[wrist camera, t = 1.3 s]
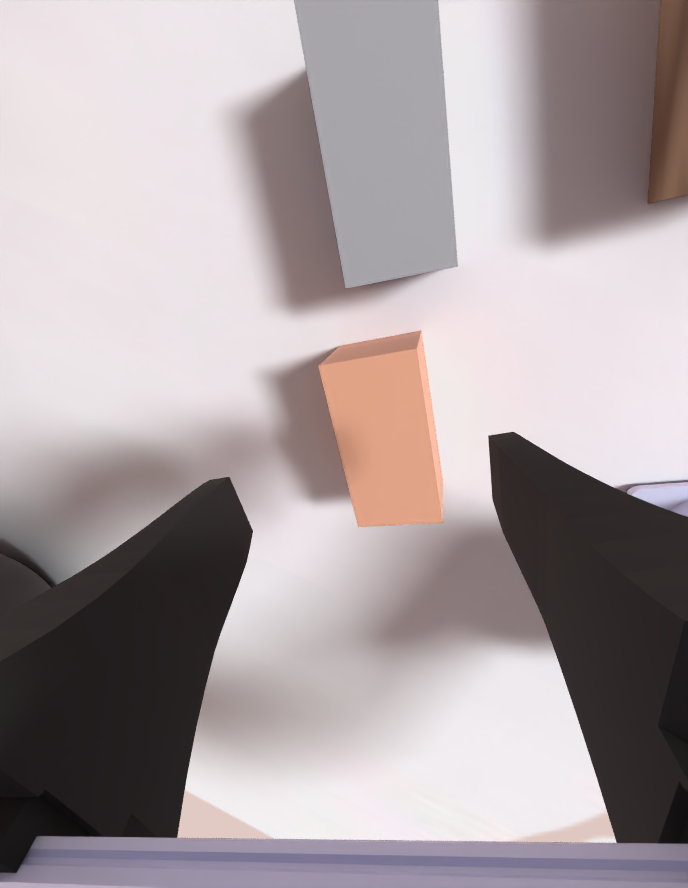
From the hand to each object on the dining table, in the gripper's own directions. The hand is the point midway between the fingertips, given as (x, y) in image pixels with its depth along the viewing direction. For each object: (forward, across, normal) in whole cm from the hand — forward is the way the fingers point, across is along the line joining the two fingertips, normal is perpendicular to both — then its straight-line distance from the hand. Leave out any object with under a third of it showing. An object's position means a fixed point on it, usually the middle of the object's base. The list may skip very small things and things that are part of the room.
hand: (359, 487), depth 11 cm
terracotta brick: (+10, -1, +3) cm, 10 cm away
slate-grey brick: (+11, -3, -8) cm, 14 cm away
